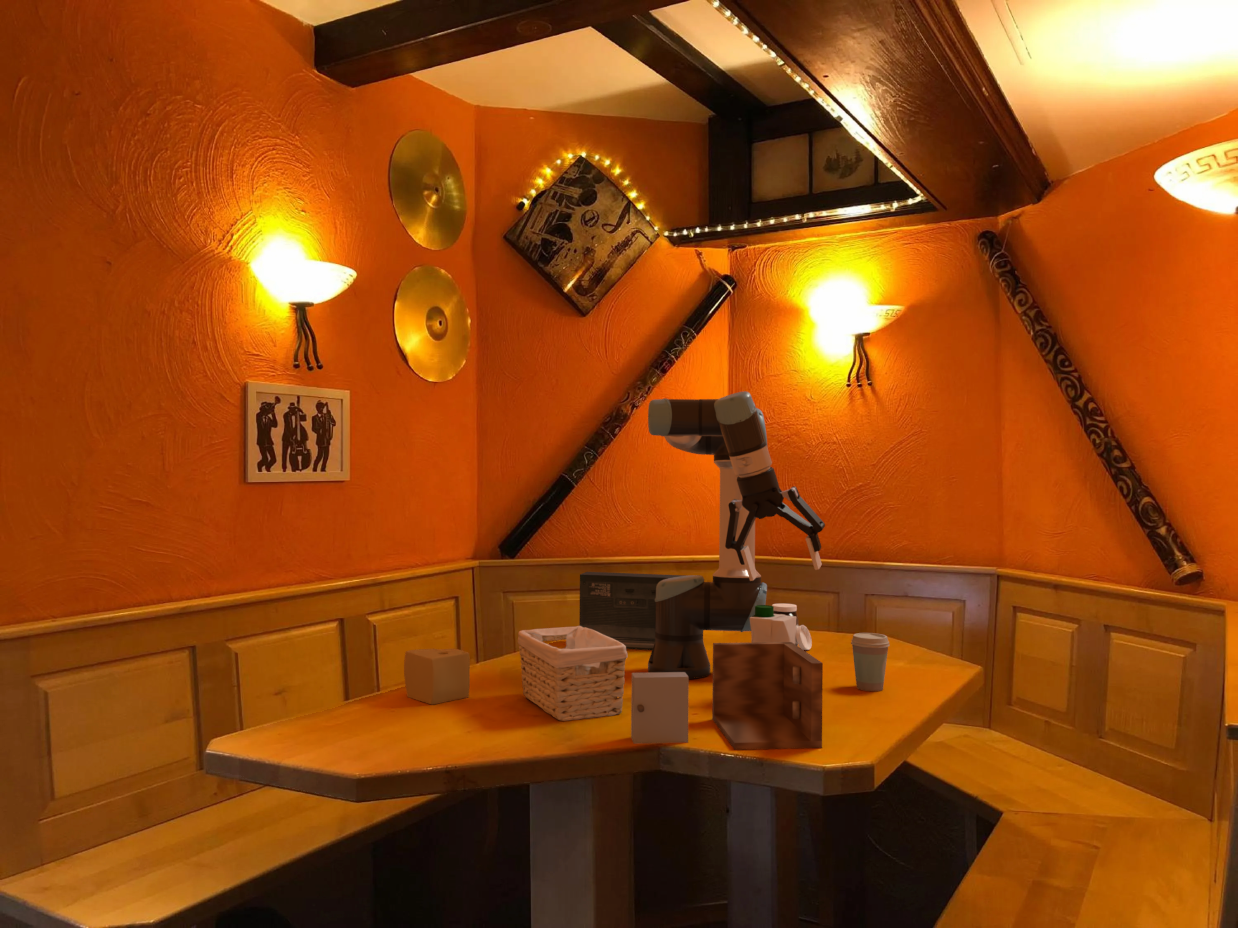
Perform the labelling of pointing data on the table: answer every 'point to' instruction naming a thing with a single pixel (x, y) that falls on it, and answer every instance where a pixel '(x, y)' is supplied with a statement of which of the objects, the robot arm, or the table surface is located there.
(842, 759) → the table surface
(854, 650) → the coffee cup
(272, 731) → the table surface
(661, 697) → the door
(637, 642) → the cassette player
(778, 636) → the milk carton
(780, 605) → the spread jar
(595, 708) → the storage basket
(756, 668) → the cabinet
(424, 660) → the beige cube with hole
